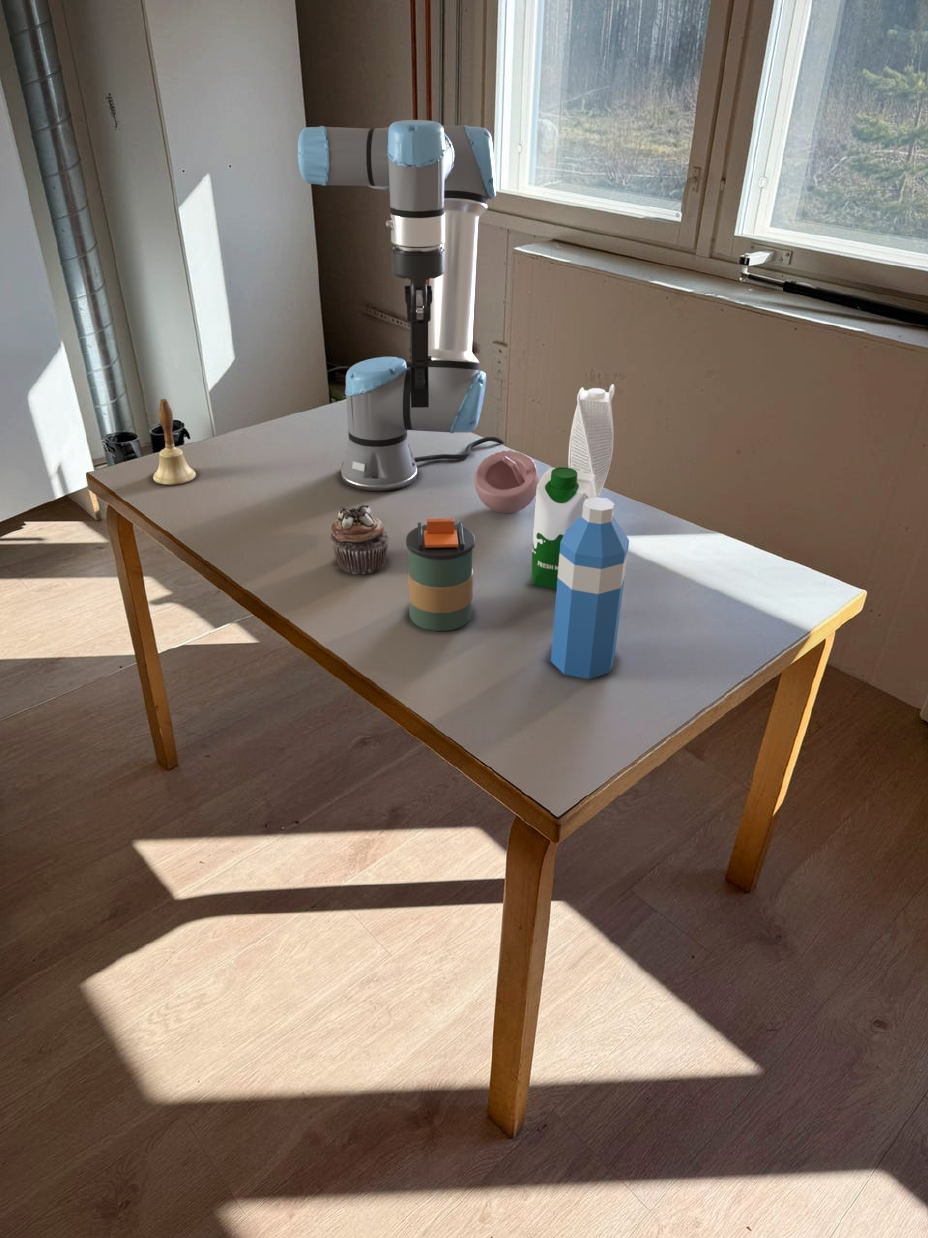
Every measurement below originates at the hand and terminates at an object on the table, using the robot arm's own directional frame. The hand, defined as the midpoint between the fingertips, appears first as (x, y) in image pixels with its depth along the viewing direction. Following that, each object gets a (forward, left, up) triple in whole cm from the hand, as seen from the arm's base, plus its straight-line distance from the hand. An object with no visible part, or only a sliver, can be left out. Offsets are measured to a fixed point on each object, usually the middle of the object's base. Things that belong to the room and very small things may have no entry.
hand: (419, 405), depth 143 cm
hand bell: (+14, -59, -28) cm, 67 cm away
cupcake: (+8, -6, -28) cm, 29 cm away
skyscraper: (-29, +12, -28) cm, 42 cm away
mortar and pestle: (-25, -4, -28) cm, 37 cm away
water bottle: (+2, +38, -28) cm, 47 cm away
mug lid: (+9, +15, -15) cm, 23 cm away
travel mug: (+9, +15, -28) cm, 33 cm away
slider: (+10, +16, -14) cm, 23 cm away
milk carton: (-13, +20, -28) cm, 36 cm away
